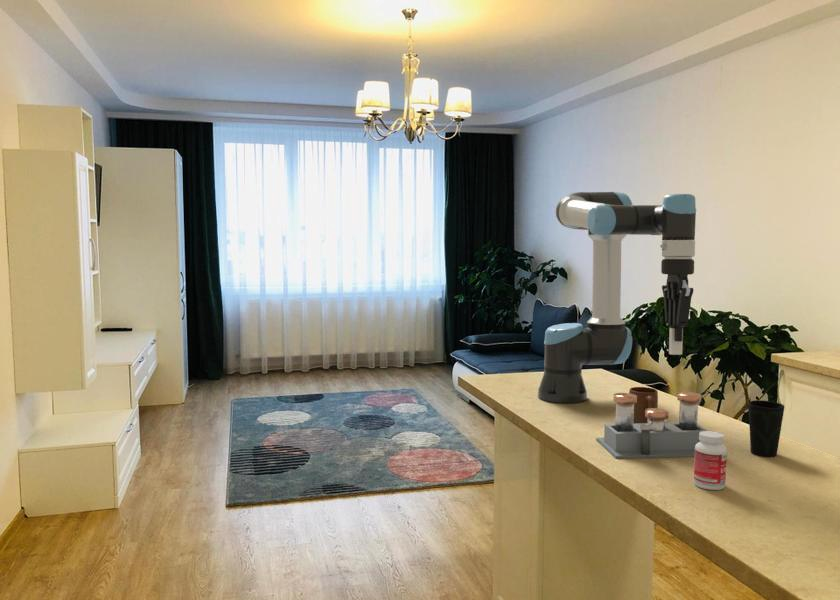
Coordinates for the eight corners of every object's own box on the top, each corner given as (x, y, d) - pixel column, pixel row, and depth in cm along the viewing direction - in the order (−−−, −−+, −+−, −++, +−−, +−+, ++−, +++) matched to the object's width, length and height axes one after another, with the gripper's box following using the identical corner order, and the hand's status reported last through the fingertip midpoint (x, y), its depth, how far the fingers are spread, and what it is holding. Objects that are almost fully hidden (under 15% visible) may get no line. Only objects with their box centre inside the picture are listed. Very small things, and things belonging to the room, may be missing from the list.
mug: (666, 432, 182) (667, 397, 181) (637, 431, 182) (638, 397, 181) (651, 419, 194) (652, 386, 193) (624, 419, 194) (625, 386, 193)
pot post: (637, 451, 164) (638, 423, 163) (648, 451, 164) (649, 423, 163) (641, 455, 161) (642, 427, 160) (652, 455, 161) (653, 426, 161)
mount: (596, 440, 175) (596, 420, 174) (691, 438, 177) (692, 419, 176) (615, 458, 161) (616, 437, 160) (719, 455, 163) (720, 435, 162)
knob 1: (609, 426, 170) (610, 393, 169) (630, 425, 171) (631, 392, 170) (617, 432, 165) (618, 398, 164) (639, 432, 165) (640, 398, 164)
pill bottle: (725, 492, 140) (728, 439, 139) (693, 488, 142) (695, 436, 141) (724, 482, 146) (726, 431, 145) (693, 478, 148) (695, 428, 147)
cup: (738, 450, 166) (741, 402, 165) (761, 446, 169) (764, 399, 168) (765, 460, 159) (768, 409, 158) (789, 456, 162) (792, 406, 161)
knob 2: (672, 425, 171) (673, 391, 170) (693, 424, 172) (694, 391, 171) (682, 431, 166) (683, 397, 165) (703, 430, 166) (705, 396, 165)
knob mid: (640, 441, 171) (641, 408, 170) (661, 440, 172) (662, 407, 171) (649, 448, 166) (650, 414, 165) (671, 447, 166) (672, 413, 165)
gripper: (652, 257, 174) (650, 350, 176) (673, 258, 161) (671, 358, 163) (681, 257, 175) (679, 350, 176) (705, 258, 162) (702, 358, 163)
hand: (675, 354), depth 170 cm, fingers closed
